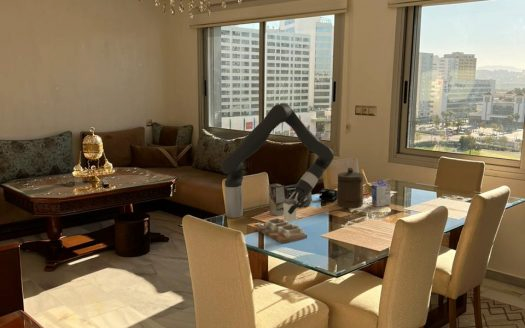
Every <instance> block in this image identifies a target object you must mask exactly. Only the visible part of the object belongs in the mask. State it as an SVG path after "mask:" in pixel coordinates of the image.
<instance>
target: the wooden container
mask: <svg viewBox="0 0 525 328" xmlns="http://www.w3.org/2000/svg"><path fill="white" fill-rule="evenodd" d="M354 170H355V169H354V168H353V167H349V168H348V167H347V171H343V172H340V173H337V189H336V190H337V200H336V203H337V206H338V207H341V208H345V209H354V208H355V209H356V208H360V207H363V206H364V205H363V204H364V173H361V172H357V171H354Z"/></svg>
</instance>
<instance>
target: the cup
mask: <svg viewBox="0 0 525 328" xmlns="http://www.w3.org/2000/svg"><path fill="white" fill-rule="evenodd" d="M306 198H307V199H308V201H307V202H306V203H305V204H304V205H302V206H301V208H303V207H305V208H306V207H308V206H310V205H311V203H312V201H313V195H312V191H311V192H310V193H309V195H306ZM300 204H301V203H300ZM300 204H299V205H300Z"/></svg>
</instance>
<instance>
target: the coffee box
mask: <svg viewBox="0 0 525 328" xmlns="http://www.w3.org/2000/svg"><path fill="white" fill-rule="evenodd" d="M286 196H287V195H286V186H285V185H282V184H280V183H272V184H268V207H269V209H268V210H269V212H268V213H269V214H270V213H271V214H272V215H274V216H277V217H278V216H279V217H280V216H284V211H283V210H282V208H283V200H284V199H286Z"/></svg>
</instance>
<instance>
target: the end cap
mask: <svg viewBox="0 0 525 328" xmlns="http://www.w3.org/2000/svg"><path fill="white" fill-rule="evenodd" d="M318 193H319V194H320V195H319V197H318V198H319V201H320V202H327V203H335V202H337V189H332V188H331V189H330V188H321V190H319V192H318Z"/></svg>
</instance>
